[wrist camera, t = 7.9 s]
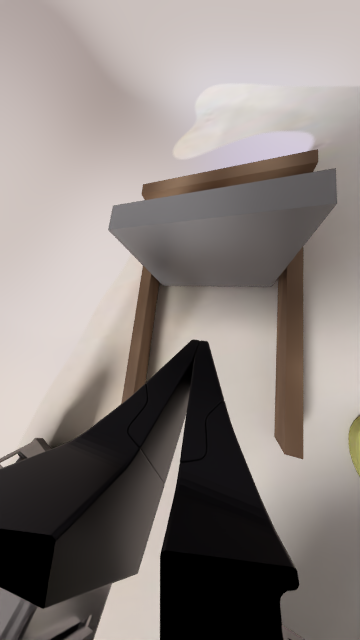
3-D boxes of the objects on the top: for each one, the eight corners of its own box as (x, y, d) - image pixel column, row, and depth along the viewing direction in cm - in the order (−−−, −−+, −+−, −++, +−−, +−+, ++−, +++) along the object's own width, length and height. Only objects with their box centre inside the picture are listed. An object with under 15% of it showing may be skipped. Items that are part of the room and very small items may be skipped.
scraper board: (271, 269, 13) (335, 168, 6) (271, 286, 13) (336, 203, 6) (164, 271, 16) (113, 205, 9) (162, 285, 16) (108, 229, 8)
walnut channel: (292, 202, 14) (317, 149, 10) (289, 440, 11) (323, 487, 8) (160, 219, 18) (143, 184, 14) (133, 401, 15) (103, 419, 11)
